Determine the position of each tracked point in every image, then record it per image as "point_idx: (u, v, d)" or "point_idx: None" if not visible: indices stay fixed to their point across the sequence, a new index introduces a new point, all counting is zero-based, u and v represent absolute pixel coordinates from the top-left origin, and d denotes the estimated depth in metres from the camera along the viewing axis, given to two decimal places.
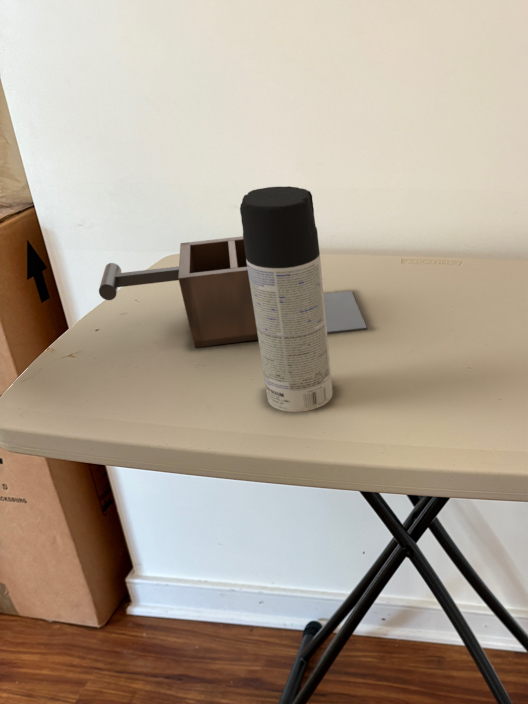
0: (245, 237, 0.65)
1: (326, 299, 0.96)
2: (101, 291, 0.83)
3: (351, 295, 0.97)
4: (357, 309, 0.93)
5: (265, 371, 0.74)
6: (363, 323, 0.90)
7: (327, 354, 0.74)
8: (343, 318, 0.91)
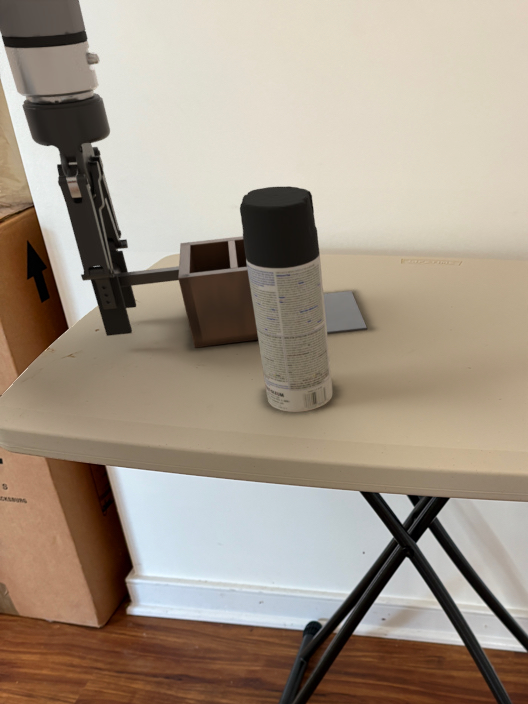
0: (245, 237, 0.65)
1: (326, 299, 0.96)
2: None
3: (351, 295, 0.97)
4: (357, 309, 0.93)
5: (265, 371, 0.74)
6: (363, 323, 0.90)
7: (327, 354, 0.74)
8: (343, 318, 0.91)
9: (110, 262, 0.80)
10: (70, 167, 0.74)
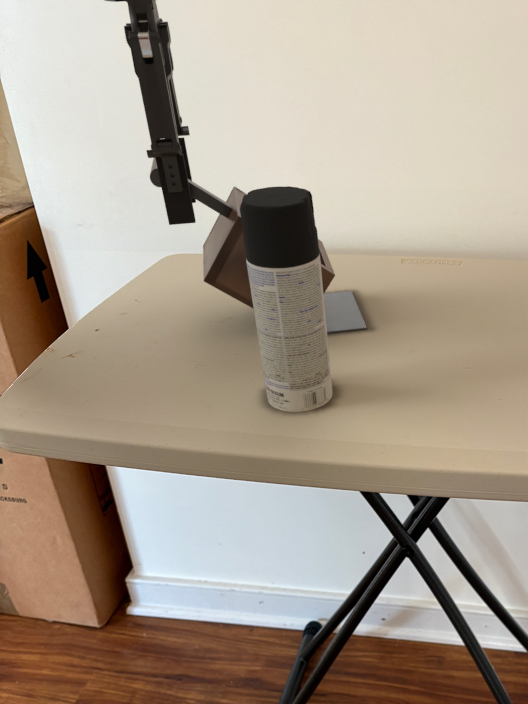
0: (245, 237, 0.65)
1: (326, 299, 0.96)
2: (154, 173, 0.77)
3: (351, 295, 0.97)
4: (357, 309, 0.93)
5: (265, 371, 0.74)
6: (363, 323, 0.90)
7: (327, 354, 0.74)
8: (343, 318, 0.91)
9: (177, 138, 0.74)
10: (140, 24, 0.69)
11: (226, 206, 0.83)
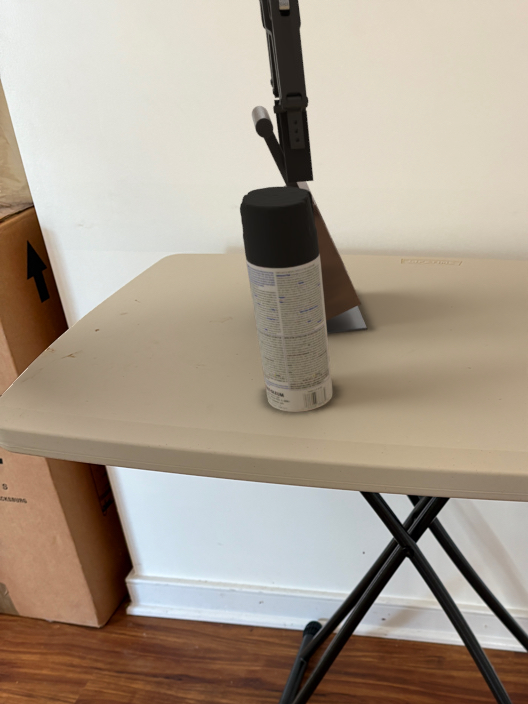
0: (245, 237, 0.65)
1: None
2: (263, 121, 0.76)
3: None
4: (357, 309, 0.93)
5: (265, 371, 0.74)
6: (363, 323, 0.90)
7: (327, 354, 0.74)
8: (343, 318, 0.91)
9: None
10: None
11: None
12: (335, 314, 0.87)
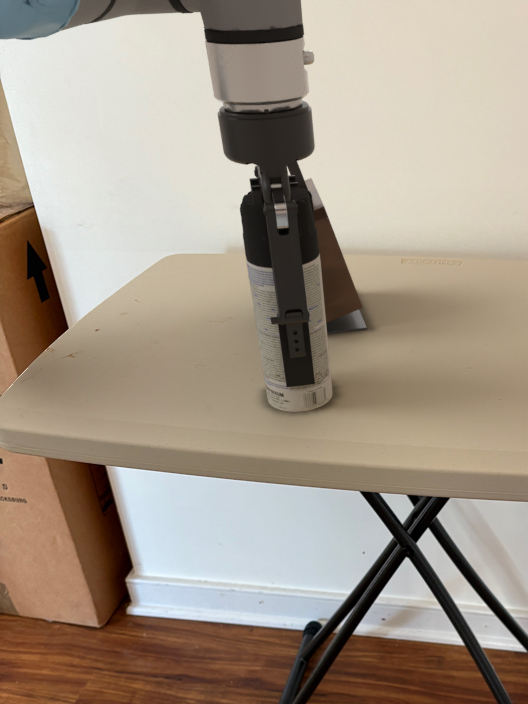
0: (245, 237, 0.65)
1: None
2: None
3: None
4: None
5: (265, 371, 0.74)
6: (363, 323, 0.90)
7: (327, 354, 0.74)
8: (343, 318, 0.91)
9: None
10: (274, 191, 0.61)
11: None
12: (336, 316, 0.88)
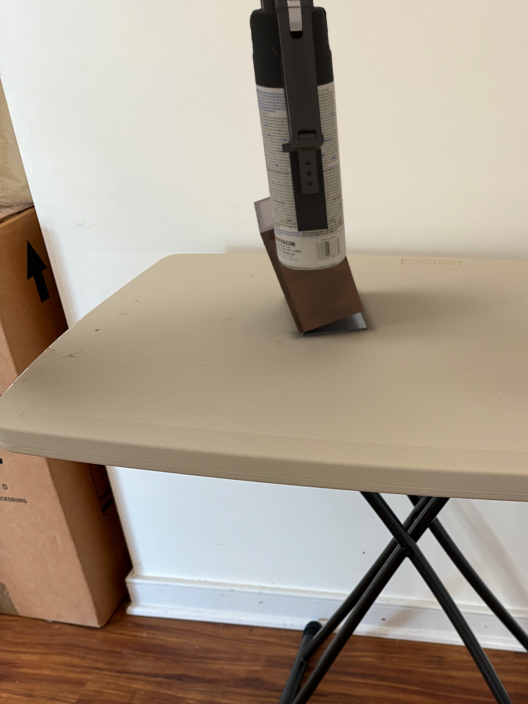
0: (255, 55, 0.61)
1: None
2: None
3: None
4: None
5: (275, 218, 0.69)
6: (363, 323, 0.90)
7: (341, 200, 0.69)
8: (343, 318, 0.91)
9: None
10: None
11: None
12: (337, 318, 0.88)
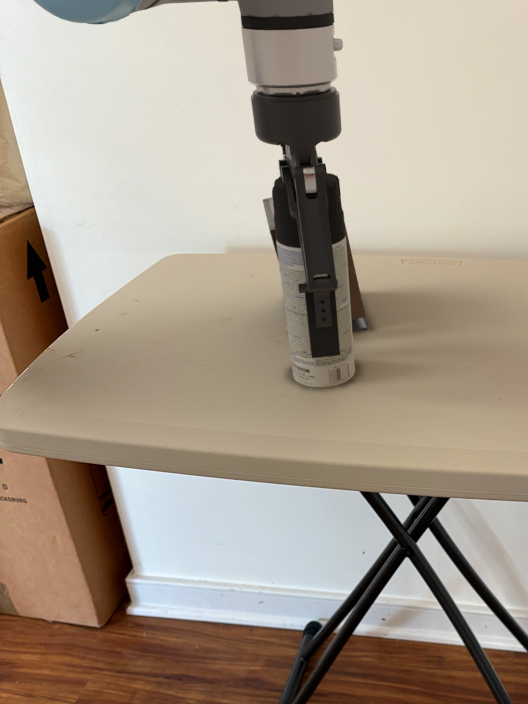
0: (276, 219, 0.69)
1: None
2: None
3: None
4: None
5: (292, 348, 0.77)
6: (363, 323, 0.90)
7: (351, 332, 0.77)
8: None
9: None
10: (303, 165, 0.64)
11: None
12: None
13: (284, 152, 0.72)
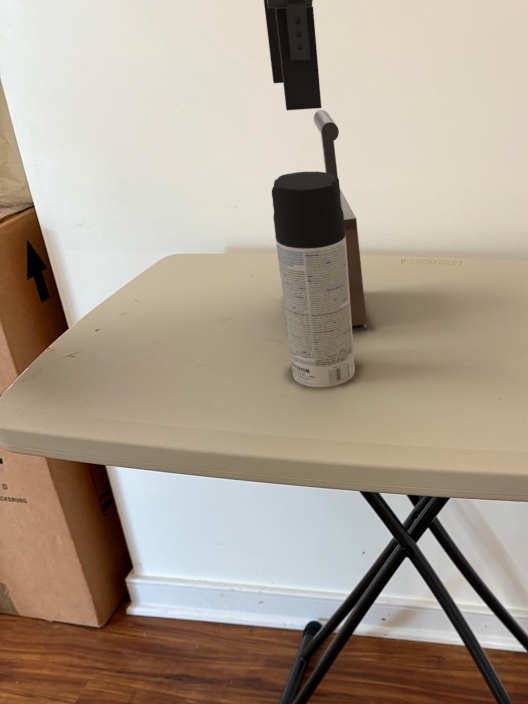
0: (276, 219, 0.69)
1: None
2: (331, 125, 0.77)
3: None
4: None
5: (292, 348, 0.77)
6: None
7: (351, 332, 0.77)
8: None
9: None
10: None
11: None
12: None
13: None
